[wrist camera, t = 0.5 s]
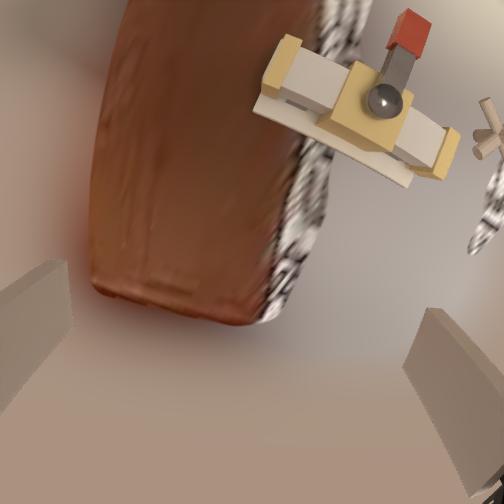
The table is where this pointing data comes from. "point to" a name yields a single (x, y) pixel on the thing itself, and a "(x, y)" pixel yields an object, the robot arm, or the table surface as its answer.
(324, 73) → the valve base
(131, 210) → the table surface
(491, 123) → the pipe connector
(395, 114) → the valve lever
